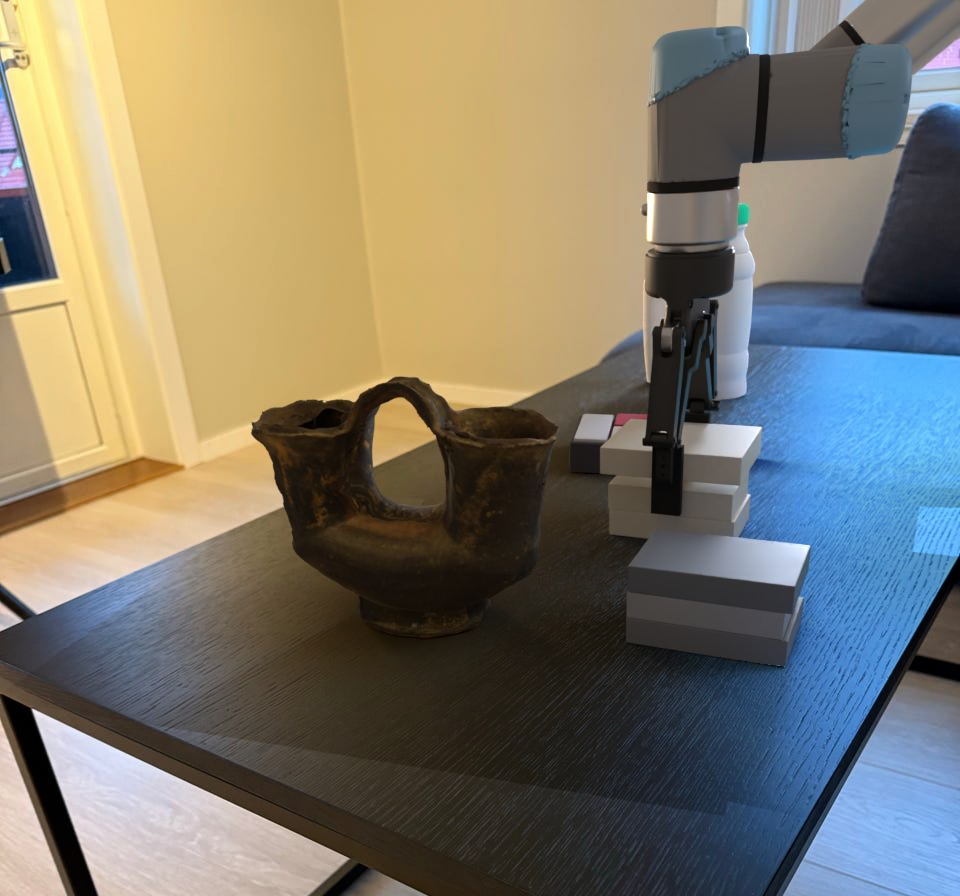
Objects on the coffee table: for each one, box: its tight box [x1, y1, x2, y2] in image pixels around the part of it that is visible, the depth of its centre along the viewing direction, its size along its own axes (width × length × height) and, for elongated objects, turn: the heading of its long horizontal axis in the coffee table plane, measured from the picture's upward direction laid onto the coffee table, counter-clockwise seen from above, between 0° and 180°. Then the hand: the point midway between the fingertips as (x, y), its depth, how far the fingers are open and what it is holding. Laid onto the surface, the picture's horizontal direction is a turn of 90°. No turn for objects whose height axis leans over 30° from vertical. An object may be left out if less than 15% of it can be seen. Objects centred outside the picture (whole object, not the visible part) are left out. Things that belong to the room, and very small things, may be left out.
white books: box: [607, 471, 751, 540], centre depth 90 cm, size 12×8×5 cm, turn 65°
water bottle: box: [709, 202, 756, 401], centre depth 122 cm, size 7×7×25 cm
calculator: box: [568, 413, 647, 474], centre depth 109 cm, size 11×4×15 cm
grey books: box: [625, 529, 812, 668], centre depth 71 cm, size 12×8×7 cm, turn 65°
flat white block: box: [599, 419, 763, 486], centre depth 88 cm, size 13×10×3 cm
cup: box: [642, 279, 667, 384], centre depth 136 cm, size 7×7×15 cm
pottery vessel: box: [250, 375, 559, 639], centre depth 75 cm, size 25×11×20 cm, turn 71°
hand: (680, 494), depth 90 cm, fingers closed on flat white block, 9 cm apart
